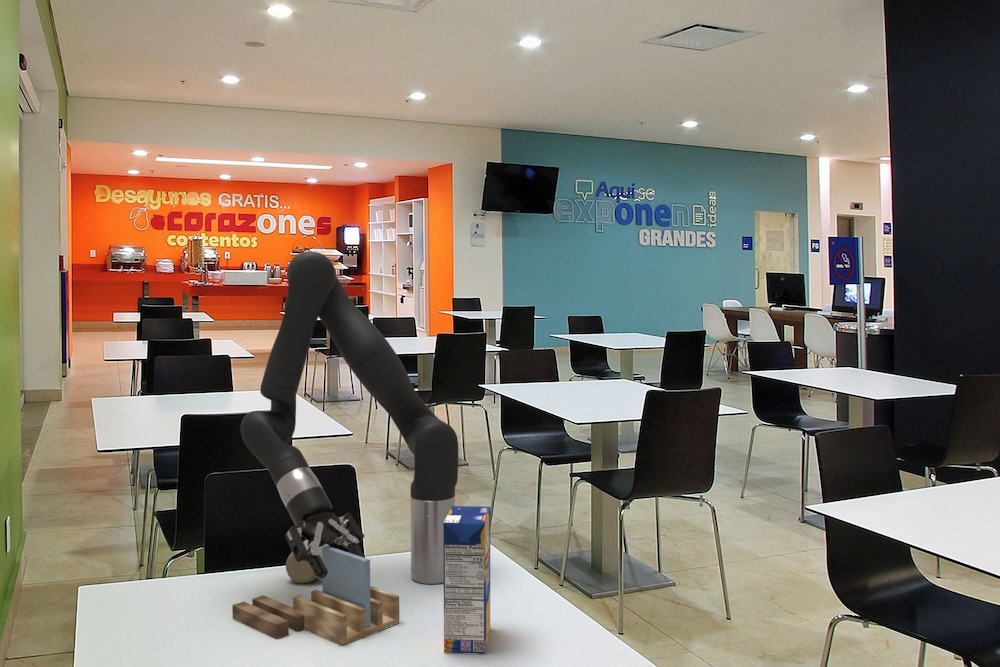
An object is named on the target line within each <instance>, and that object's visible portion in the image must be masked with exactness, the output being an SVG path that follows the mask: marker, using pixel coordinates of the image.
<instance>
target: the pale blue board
mask: <svg viewBox="0 0 1000 667" xmlns="http://www.w3.org/2000/svg"><path fill="white" fill-rule="evenodd" d="M329 546H330V545H329ZM329 546H325V547H322V561H323V563H324V565H325V567H326V569H327V571H328V574H327V575H326V576H325V578H323V581H322V592H323V593H326V594H328V595H331V596H333V597H336V598H339V599H341V600H344V601H346V602H349V603H352V604H354V605H357V606H360V607H362V608H365V628H368V627H371V614H370V586H371V559H369V558H366V557H365V558H363V557H360V556H357V555H354V554H351V553H349V552H348V551H344V550H341V549H339V548H335V547H332V546H330V547H329Z"/></svg>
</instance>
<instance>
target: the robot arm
mask: <svg viewBox="0 0 1000 667" xmlns="http://www.w3.org/2000/svg"><path fill="white" fill-rule="evenodd" d="M336 273H337V272H336V268H335V266H334V263H333V262H332V261H331V259H330V258H329V257H328V256H327V255H324V254H323V253H320V252H317V251H313V250H312V251H311V250H310V251H309V250H308V251H303V252H300V253H298V254H297V255H294V256H293V258H292V259H291V260H290V261H289V263H288V265H287V268H286V280H287V282H288V286H287V296H286V303H285V308H284V312H283V313H284V314H283V317H282V321H281V324H280V327H279V329H278V332H277V335H276V337H275V339H274V342H273V343H274V344H273V345H272V348H271V350H270V354H269V356H268V359H267V362H266V366H265V369H264V374H263V377H262V381H261V385H260V394H261V396H262V397H264V398H265V399H268V400H269V401H270V410H269V411H267V410H253V411H250V412H248V413H246V415H244V416H243V418H242V420H241V423H240V435H241V439H242V440H243V442H244V445H245V446H246V448H247V449H248V450H249V451H250V453H252V455H254V457H255V458H256V459H257V460H258V461H259V463H261V464H262V465H263V467H265V468H266V469H267V471H268V472H269V475H270V476H271V479H272V481H273V483H274V484H275V486H276V489H277V491H278V493H279V496H280V498H281V501H282V502H283V505H284V507H285V508H286V510H287V512H288V514H289V516H290V518H291V520H292V522H293V524H294V525H291V527H290V528H289V529H288V531H287V532H286V533H285V536H284V537H285V539H286V541H287V543H288V546H289V548H290V550H291V553H293V555H294V557H295V559H296V561H297V562H301V561H306V562H308V563H309V564H310V566H311V568H312V570H313V572H314V574H315V575H316V576H317V577H319V579H323V578H325V576H326V575H327V574H328V571H327V569H326V567H325V565H324V563H323V561H322V559H321V557H320V555H317V552H318V546H319V547H321V546H323V545H325V544H328V545H332V544H336V545H337V546H342V547H344V548H345V549H346V550H348V551H347V552H348V553H351V554H354V555H357V556H360V557H363V558H366V555H365V554H364V552H363V550H362V548H361V547H360V543H361V542H362V540H364V538H365V534H364V533H363V531H362V530H361V528H360V526H359V525H358V523H357V521H356V520H355V518H354V517H353V515H352V514H351V512H346V513H345V514H344V515H342V516H339V517H338V516H337V515H336V514H335V513H334V509H333V508H334V507H333V504H332V502H331V501H330V498H329V497H328V495H327V493H326V492H325V490H324V487H323V486H322V485H321V482H320V481H319V479H318V477H317V476H316V474H315V473H314V472H313V470H312V469H311V467H310V465H309V464H308V462H307V459H306V458H305V456H304V455H303V452H302V451H301V450H300V449H299V448H298V447H296V446H294V445H291V444H289V442H290V441H291V439H292V438H293V435H294V433H295V430H296V426H297V425H296V422H297V414H296V413H297V393H298V389H299V387H300V383H301V379H302V377H303V376H302V375H303V371H304V368H305V365H306V361H307V356H308V352H309V349H310V344H311V340H312V337H313V334H314V331H315V330H314V329H315V327H316V324H317V321H318V319H319V320H320V321H321V323H322V324H323V325H324V327H325V329H326V331H327V332H328V334H329V336H330V338H331V340H332V341H333V343H334V345H335V346H336V348H337V350H338V352H339V353H340V355H341V356H342V359H343V360H344V361H345V363H346V365H347V366H348V367H349V368H350V369H351V371H352V372H353V374H354V375H355V376H356V378H357V380H359V382H360V383H361V385H362V386H364V388H365V390H366V391H367V392H368V393H369V394H370V396H372V398H374V400H375V401H376V402H377V403H378V404H379V405H380V407H382V408H383V409H384V410H385V412H386V413H387V414H388V416H389V417H390V418H391V419H392V421H393V423H394V425H395V426H396V428H397V430H398V431H399V433H400V435H401V437H402V438H403V440H404V441H405V443H406V445H407V447H408V449H409V451H410V453H411V454H412V455H413V456H414V470H413V471H414V472H413V473H414V475H413V480H412V482H411V483H410V578H411V579H412V580H413V581H414V582H416V583H420V584H426V585H427V584H430V585H433V584H434V585H435V584H442V583H443V584H444V524H443V523H444V521H445V519H446V517H447V515H448V513H449V511H450V509H451V507H452V506H456V486H457V483H458V479H459V478H458V477H459V439H458V435H457V432H456V430H454V428H453V427H452V426H451V425H450V424H448V423H446V422H444V421H443V420H441V419H439V418H438V416H437V415H436V414H435V413H434V412H432V410H431V409H430V408H429V407H428V406H427V405H426V403H425V402H424V401H423V399H422V398H421V397H420V395H419V394H418V393H417V391H416V390H415V387H414V386H413V384H412V381H411V380H410V377H409V374H408V372H407V371H406V368H405V366H404V364H403V361H402V360H401V359H400V357H399V356H398V354H397V352H395V350H394V348H393V346H391V344H390V343H389V341H388V339H386V338H385V336H384V335H383V334H382V333H381V331H380V330H379V329H378V328H377V327H376V325H375V324H374V323H373V322H372V321H371V320H370V319H369V318H368V317H367V316H366V315H365V314H364V313H363V312H362V310H360V309H359V308H358V306H356V304H355V303H354V302H353V301H352V299H351V298H350V296H349V295H348V293H347V292H346V289H345V288H344V286H343V285H342V284H341V281H340V280H339V278H338V276H337V274H336ZM339 535H341V536H339ZM302 538H304V539H305V540H308V542H307V547H305V545H304V543H303V542H304V541H303V539H302ZM319 579H318V580H319Z"/></svg>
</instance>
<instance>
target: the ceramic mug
mask: <svg viewBox="0 0 1000 667" xmlns="http://www.w3.org/2000/svg"><path fill="white" fill-rule="evenodd" d="M307 542H308V540H307V539H305V540H304V541H303V543H304V545H305V547H307ZM325 546H329V547H331V546H330V544H325V545H323V546H321V547H319V546H318V552H317V555H320V557H321V559H322V547H325ZM285 571H286V572H287V575H288V577H289V578H290V579H291V580H292V581H294V582H296V583H298V584H308V583H310V582H312V581H315V579H318V580H319V581H321V582H323V579H319V577H317V576H316V575H315V574H314V572H313V570H312V568H311V566H310V564H309V563H308V562H306V561H301V562H297V561H296V559H295V557H294V555H293V553H292V552H291V553H290V554H289V555H288V557H287V559H286V563H285Z"/></svg>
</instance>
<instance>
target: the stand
mask: <svg viewBox="0 0 1000 667" xmlns="http://www.w3.org/2000/svg"><path fill="white" fill-rule="evenodd" d="M251 600H252V601H251V602H252V604H251V603H248V602H246V601H240V602H239V603H233V604H232V605H231V606H232V610H231V611H232V619H233V620H235V621H237V622H239V623H242V624H244V625H246V626H248V627H250V628H252V629H254V630H256V631H259V632H260V633H261V632H262V633H263V634H266V635H268V636H269V637H272V638H274V639H276V640H278V639H281V638H284V637H287V636H289V634H290V632H289V629H290V630H293V631H295V632H300V631H304V630H305V629H304V615H302V614H300V613H297V612H295V611H293V606H290V605H288V604H286V603H284V602H281V601H279V600H277V599H276V600H275V599H274V598H271V597H268V596H267V595H260V596H257V597H254V598H252V599H251Z"/></svg>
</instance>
